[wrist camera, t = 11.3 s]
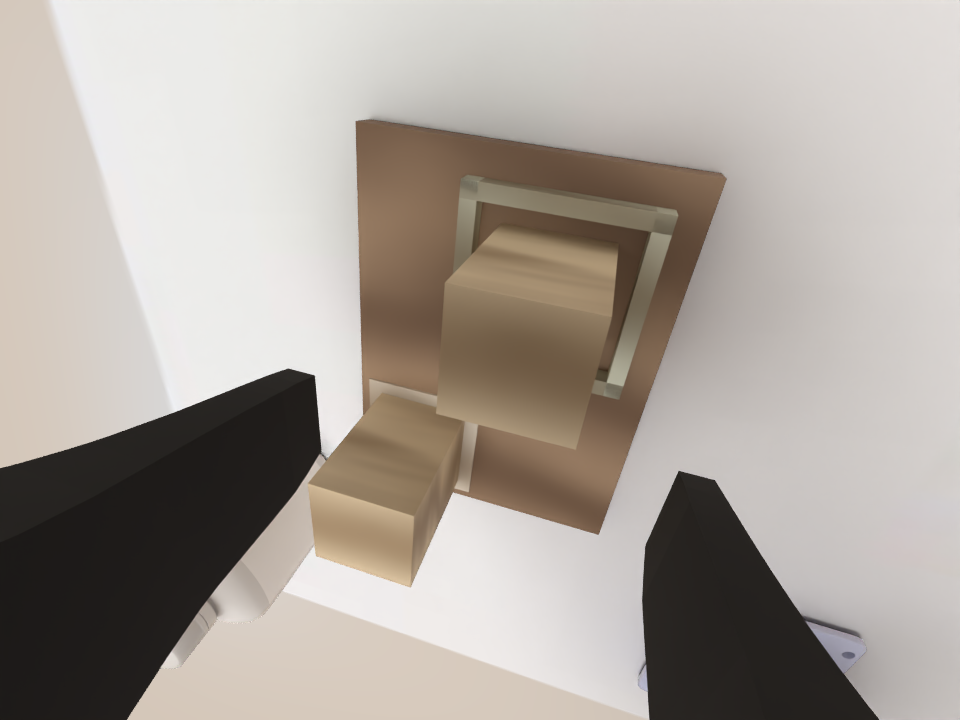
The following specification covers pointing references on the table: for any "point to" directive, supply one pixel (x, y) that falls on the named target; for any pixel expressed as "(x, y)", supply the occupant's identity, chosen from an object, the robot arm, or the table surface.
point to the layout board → (418, 326)
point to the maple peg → (526, 332)
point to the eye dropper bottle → (256, 573)
